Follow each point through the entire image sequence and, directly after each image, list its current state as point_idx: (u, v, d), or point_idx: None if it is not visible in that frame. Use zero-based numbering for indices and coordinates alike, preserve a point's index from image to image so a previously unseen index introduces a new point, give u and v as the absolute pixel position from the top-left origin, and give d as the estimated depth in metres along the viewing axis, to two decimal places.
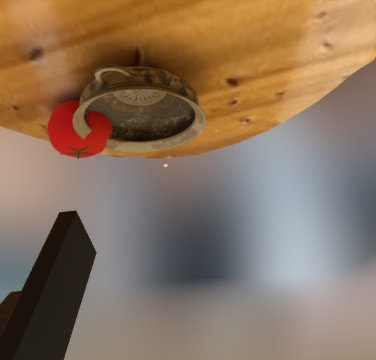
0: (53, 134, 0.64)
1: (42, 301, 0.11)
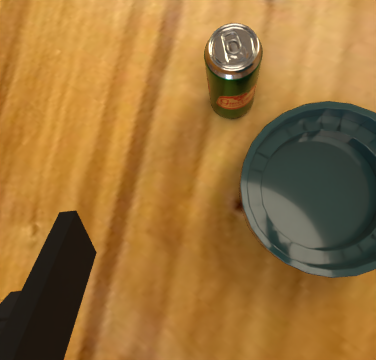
0: None
1: (42, 301, 0.11)
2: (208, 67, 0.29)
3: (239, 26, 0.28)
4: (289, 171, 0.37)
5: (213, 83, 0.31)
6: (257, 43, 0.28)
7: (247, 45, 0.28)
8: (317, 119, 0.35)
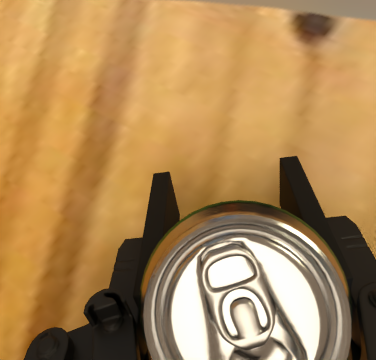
0: None
1: None
2: None
3: (267, 226, 0.07)
4: None
5: None
6: (344, 312, 0.07)
7: (303, 316, 0.07)
8: None
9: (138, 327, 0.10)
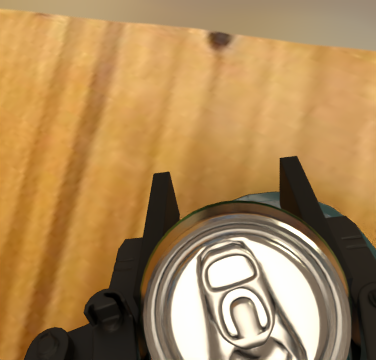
0: None
1: None
2: None
3: (267, 226, 0.07)
4: None
5: None
6: (344, 312, 0.07)
7: (303, 316, 0.07)
8: None
9: (138, 327, 0.10)
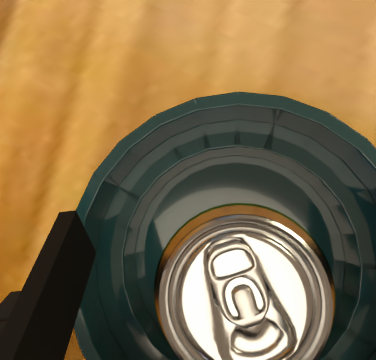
0: None
1: (42, 301, 0.11)
2: (165, 335, 0.09)
3: (263, 225, 0.09)
4: (188, 219, 0.21)
5: None
6: (327, 297, 0.08)
7: (293, 300, 0.08)
8: (230, 127, 0.19)
9: None
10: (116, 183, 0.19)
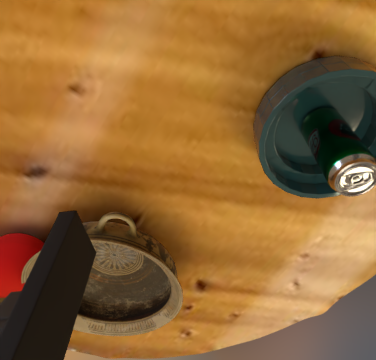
0: None
1: (42, 301, 0.11)
2: (345, 156, 0.32)
3: (374, 182, 0.33)
4: (343, 102, 0.41)
5: (331, 148, 0.34)
6: (353, 195, 0.34)
7: (354, 189, 0.34)
8: None
9: None
10: None
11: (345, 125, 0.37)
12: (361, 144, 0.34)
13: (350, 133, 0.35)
